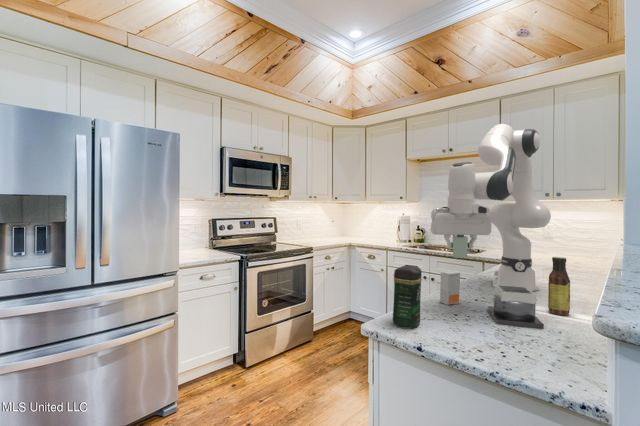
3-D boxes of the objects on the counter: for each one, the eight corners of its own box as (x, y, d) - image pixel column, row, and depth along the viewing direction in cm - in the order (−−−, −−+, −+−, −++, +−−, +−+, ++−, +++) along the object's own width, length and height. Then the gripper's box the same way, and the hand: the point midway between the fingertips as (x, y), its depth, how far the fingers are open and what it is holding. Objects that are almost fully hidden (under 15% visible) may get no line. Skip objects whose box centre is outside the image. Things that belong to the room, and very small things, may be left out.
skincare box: (447, 305, 123) (448, 273, 122) (439, 302, 127) (440, 271, 126) (459, 303, 125) (460, 272, 125) (451, 300, 129) (451, 270, 129)
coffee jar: (415, 331, 97) (416, 269, 97) (389, 325, 101) (390, 266, 101) (423, 321, 106) (424, 264, 105) (399, 316, 110) (400, 262, 109)
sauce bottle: (573, 317, 112) (575, 259, 111) (553, 315, 113) (555, 258, 112) (563, 310, 118) (565, 256, 117) (544, 309, 119) (545, 255, 119)
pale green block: (452, 255, 118) (453, 231, 117) (466, 255, 116) (467, 232, 116) (453, 257, 112) (453, 232, 112) (467, 258, 111) (467, 233, 111)
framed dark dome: (487, 310, 117) (488, 282, 117) (529, 314, 114) (529, 286, 113) (496, 324, 104) (497, 293, 104) (543, 329, 100) (544, 296, 100)
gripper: (434, 208, 110) (434, 248, 111) (494, 208, 111) (493, 249, 111) (428, 207, 117) (427, 246, 117) (484, 208, 117) (483, 246, 117)
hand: (460, 247), depth 114 cm, fingers closed on pale green block, 6 cm apart
